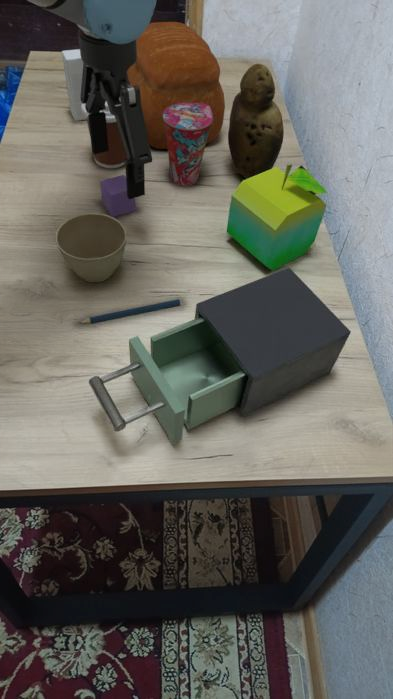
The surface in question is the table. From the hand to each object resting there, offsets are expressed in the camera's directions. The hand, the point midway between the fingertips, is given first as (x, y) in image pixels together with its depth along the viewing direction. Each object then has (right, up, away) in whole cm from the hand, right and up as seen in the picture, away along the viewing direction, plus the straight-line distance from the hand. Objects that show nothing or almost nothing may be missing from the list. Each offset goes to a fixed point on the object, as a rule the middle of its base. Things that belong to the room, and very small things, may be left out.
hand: (117, 173), depth 81 cm
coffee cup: (-3, +8, +14) cm, 16 cm away
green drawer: (+11, -35, -18) cm, 41 cm away
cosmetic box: (-10, +20, +23) cm, 32 cm away
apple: (+25, -12, +2) cm, 28 cm away
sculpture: (+23, +4, +13) cm, 27 cm away
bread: (+8, +19, +23) cm, 31 cm away
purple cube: (-1, -4, +5) cm, 7 cm away
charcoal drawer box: (+22, -31, -13) cm, 40 cm away
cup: (+11, +4, +12) cm, 17 cm away
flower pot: (-3, -17, -5) cm, 18 cm away
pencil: (+3, -24, -9) cm, 26 cm away
